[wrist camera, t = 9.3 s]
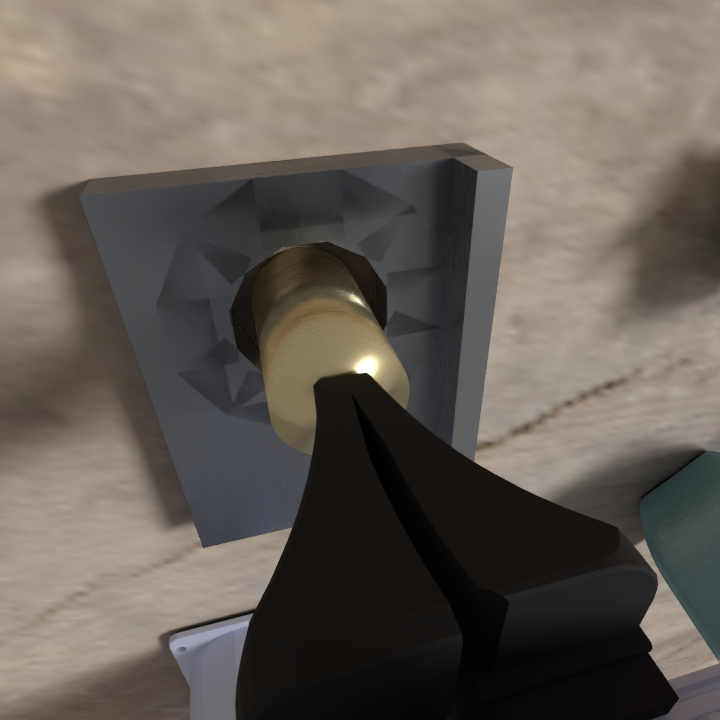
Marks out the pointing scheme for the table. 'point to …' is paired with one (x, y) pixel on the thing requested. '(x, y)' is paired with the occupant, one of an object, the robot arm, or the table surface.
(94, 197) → the jig
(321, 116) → the table surface
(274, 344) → the brass cylinder plug
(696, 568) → the flower pot
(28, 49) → the table surface
